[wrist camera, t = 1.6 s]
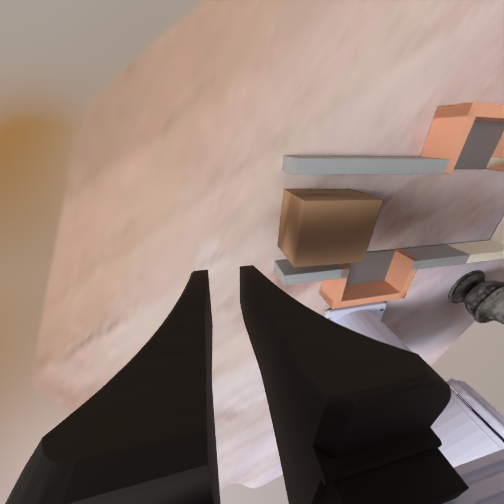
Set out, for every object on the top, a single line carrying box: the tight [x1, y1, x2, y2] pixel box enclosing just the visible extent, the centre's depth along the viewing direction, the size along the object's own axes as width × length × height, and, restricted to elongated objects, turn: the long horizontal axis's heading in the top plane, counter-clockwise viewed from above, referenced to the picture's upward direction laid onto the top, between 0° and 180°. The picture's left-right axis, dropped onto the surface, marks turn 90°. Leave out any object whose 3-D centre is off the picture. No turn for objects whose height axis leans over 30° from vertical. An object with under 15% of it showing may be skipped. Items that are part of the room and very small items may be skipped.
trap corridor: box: [274, 102, 504, 309], centre depth 20 cm, size 17×28×2 cm, turn 88°
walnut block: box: [277, 189, 383, 267], centre depth 18 cm, size 5×6×4 cm
